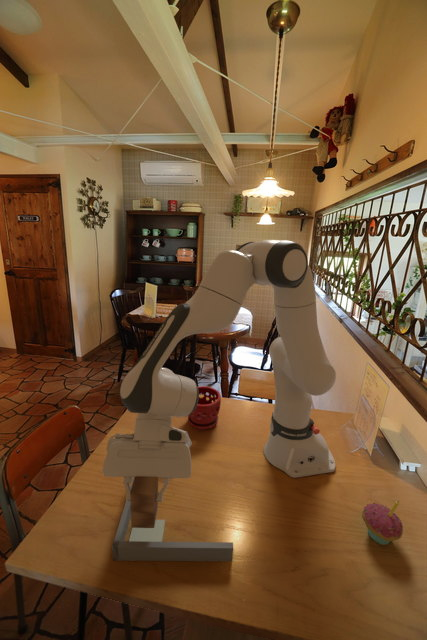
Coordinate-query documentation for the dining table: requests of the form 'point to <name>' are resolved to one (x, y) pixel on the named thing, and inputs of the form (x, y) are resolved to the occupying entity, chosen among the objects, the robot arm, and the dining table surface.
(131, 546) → the grey l-shaped bracket
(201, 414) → the plant pot
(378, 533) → the cupcake
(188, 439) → the die
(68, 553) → the dining table surface
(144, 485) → the walnut block
